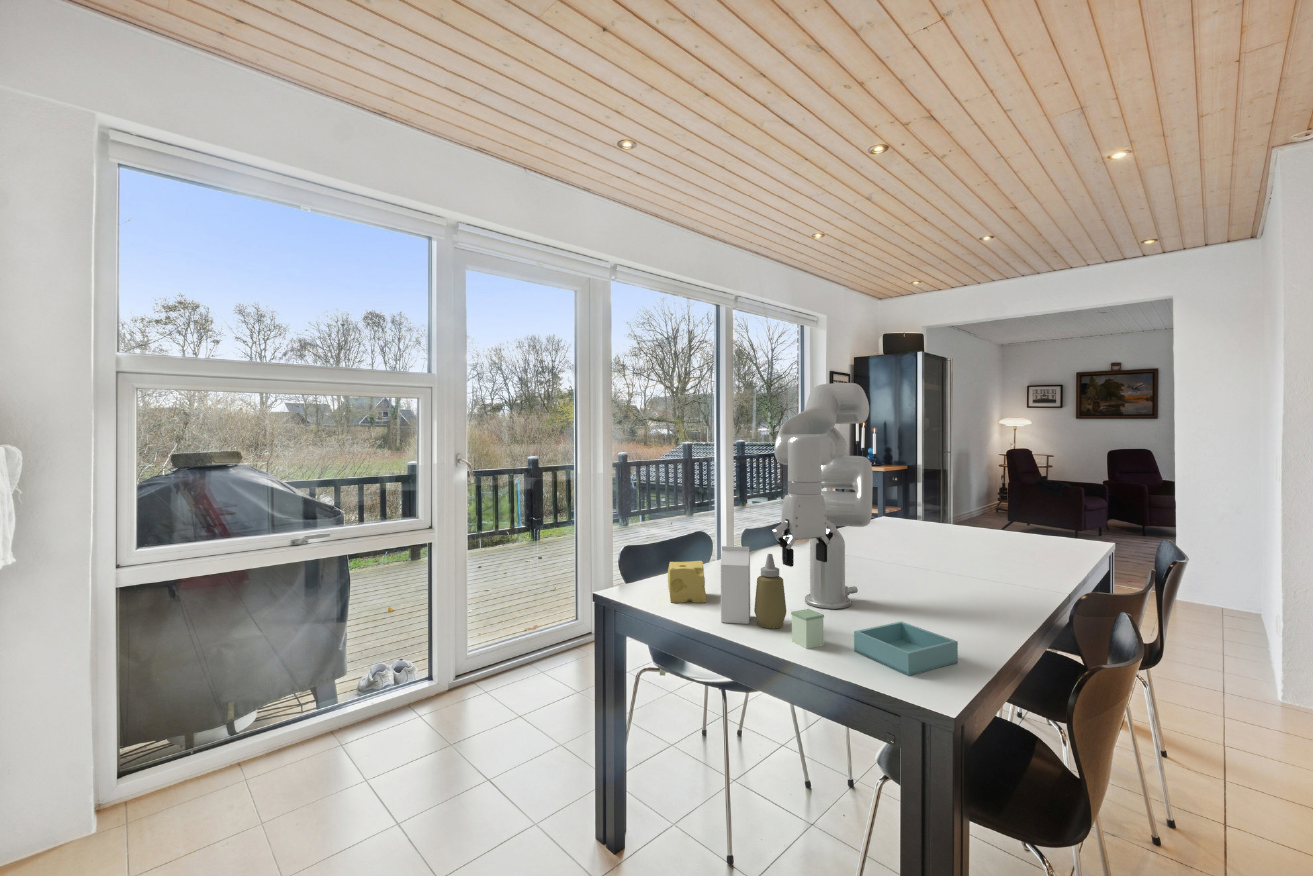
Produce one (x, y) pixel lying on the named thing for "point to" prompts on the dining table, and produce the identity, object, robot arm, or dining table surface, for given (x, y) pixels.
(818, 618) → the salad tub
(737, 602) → the milk carton
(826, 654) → the dining table surface
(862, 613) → the dining table surface
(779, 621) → the squeeze bottle
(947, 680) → the dining table surface
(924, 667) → the bin
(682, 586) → the cheese
